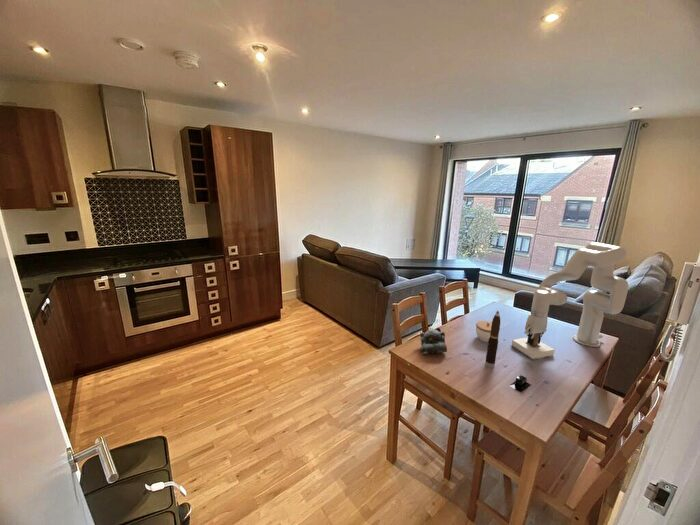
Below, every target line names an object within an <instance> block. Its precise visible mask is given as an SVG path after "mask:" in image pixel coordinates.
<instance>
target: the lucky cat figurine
mask: <svg viewBox="0 0 700 525" xmlns="http://www.w3.org/2000/svg"><path fill="white" fill-rule="evenodd" d="M419 336H420V344H421V346H420V352H421V354H423V355H425V354H442V353H447V351H448V347H447V345H446V332H444V331H442V330H441V328H439V327H437V328H436V329H434V328H432V329H431V328H430V329H428V328H425V329H424V331H422V332H420V333H419Z"/></svg>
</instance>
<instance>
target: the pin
mask: <svg viewBox="0 0 700 525" xmlns="http://www.w3.org/2000/svg"><path fill="white" fill-rule="evenodd" d="M531 335H532V334H531ZM539 335H540V333H535V334H534V337H533V338H534V341H533V345H530V344H529V345H530V346H532V347H537V345H538V340H539Z"/></svg>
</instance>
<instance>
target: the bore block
mask: <svg viewBox="0 0 700 525" xmlns="http://www.w3.org/2000/svg"><path fill="white" fill-rule="evenodd" d="M527 340H528V337H523V338H522V337H521V338H516V339H512V342H511V347H512V348H514V349H515V350H517V351H518V352H519V353H521V354H523V355H524V356H525V357H527V358H529V359H530V360H531V361H535V360H539V359H540V360H541V359H545V358H551V357H554V355H555V349H554V348H553V347H551V346H549V345H547V344H546V343H544V342H542V341H541V340H540V344H538V345H537V347H532V346H530V345H529V343H527Z"/></svg>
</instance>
